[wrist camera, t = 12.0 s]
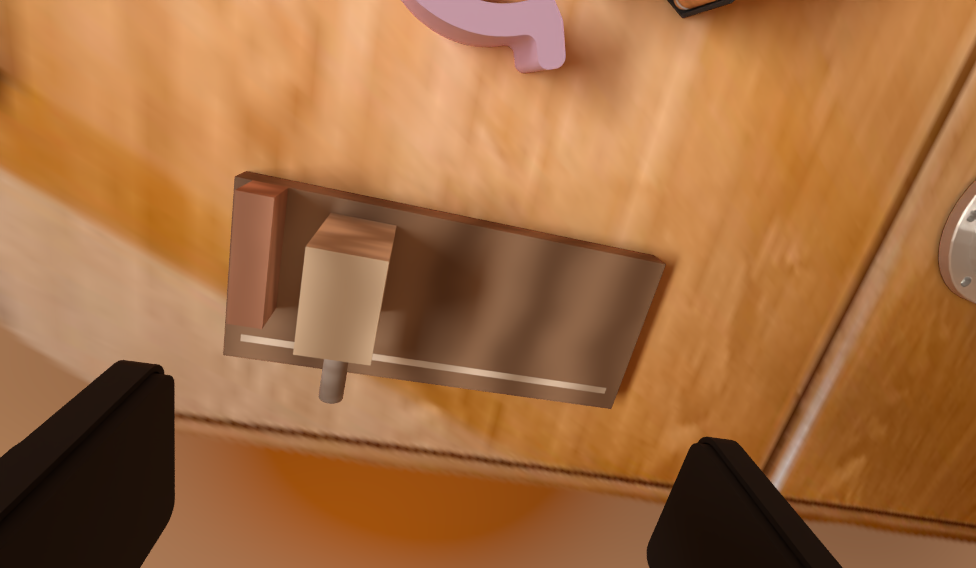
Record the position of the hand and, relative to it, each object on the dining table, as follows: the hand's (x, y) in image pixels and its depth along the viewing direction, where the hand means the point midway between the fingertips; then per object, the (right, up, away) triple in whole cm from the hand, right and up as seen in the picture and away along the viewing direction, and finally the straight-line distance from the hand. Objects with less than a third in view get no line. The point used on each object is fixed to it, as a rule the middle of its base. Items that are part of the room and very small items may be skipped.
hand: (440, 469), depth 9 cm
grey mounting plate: (-2, +2, +27) cm, 27 cm away
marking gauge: (-8, +3, +23) cm, 25 cm away
